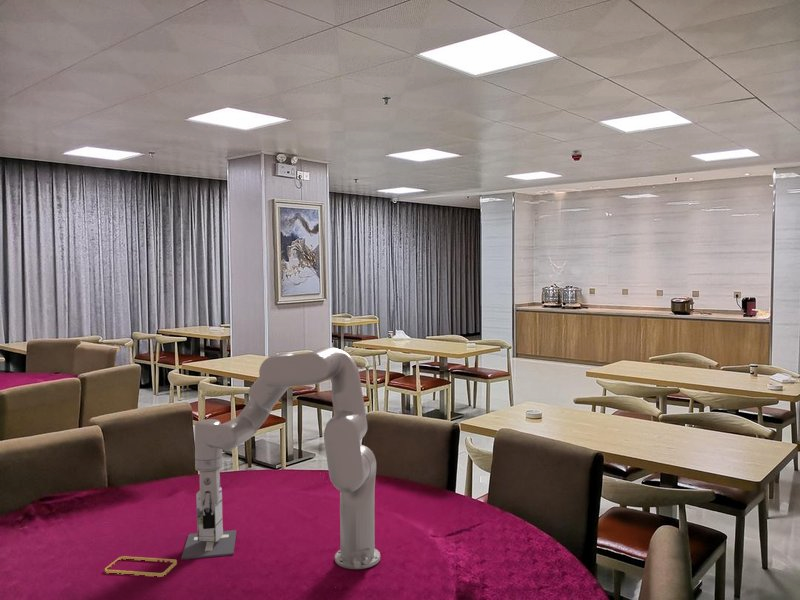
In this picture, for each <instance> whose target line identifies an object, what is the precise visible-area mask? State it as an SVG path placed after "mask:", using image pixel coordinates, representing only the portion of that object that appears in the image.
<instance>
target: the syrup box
mask: <svg viewBox="0 0 800 600" xmlns="http://www.w3.org/2000/svg"><path fill="white" fill-rule="evenodd" d="M219 491H220V492H219V493H220V500H219V503H218V504H217V505H216V504H214V513H213V514H215V527H214V528H211V529H203V506H202V505H201V499H200V489H199V490H198V491H197V492H196V495H195V496H196V499H195V500H196V527H197V528H196V530H197V532H196V533H197V535H198V542H217V541H218V540H219V539H220V537H221V536H222V535H223V531H224V528H223V526H224V525H223V524H224V523H223V522H224V521H223V492H222V491H223V489H222V487H220V488H219ZM210 496H211V494H210ZM210 503H212V501H210ZM210 508H211V506H210Z"/></svg>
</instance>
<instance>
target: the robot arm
mask: <svg viewBox="0 0 800 600" xmlns="http://www.w3.org/2000/svg"><path fill="white" fill-rule="evenodd" d="M258 374H259V376H258V377H257V378H256V380H255V381H254V383H253V384H252V385H251V386H250V387H249V389H248V397H249V399H248V402H247V403H246V405H245V406H244V407H243V409H242V410H241V411H240V413H239V414H237V416H236V417H235V418H232V419H231V420H228V421H226V422H223V423H221V421H220V420H218V419H214V418H212V419H211V418H208V419H202V420H201V419H200V420H199V421H196V423H195V424H194V459H195V461H194V463H195V464H194V465H195V466H194V467H195V471H197V472H199V490H200V499H201V505H202V506H203V529H211V528H214V527H215V514H213V513H214V504H216V505H217V504H218V503H219V500H220V493H219V492H220V491H219V488H221V476H220V475H221V473H220V470H221V469H222V468H223V451H231V450H234V449H235V448H238V447H239V446H241V445H242V444H244V443H245V442H246V441H248V440H250V439H251V438H253V436H254V435H255V434H256V433H257V431H258V430H259V429H260V428H261V427H262V425H263V424H264V423H266V421H267V419H268V418H269V416H270V413H271V412H272V411H273V408H274V406H276V405H277V403H278V402H279V400H280V399H282V397H283V395H284V394H285V393H286V392H287V391H288V389H290V388H292V387H293V388H294V387H303V386H312V385H318V384H320V383H323V382H325V381H326V380H330V382H331V389H330V390H331V392H330V393H331V402H332V406H333V407H332V408H333V410H332V411H333V416H332V417H331V418H330V419H329V420H328V422H327V423H326V424H325V427H324V430H323V431H324V432H323V442H324V450H325V455H326V463H327V469H328V476H329V479H330V482H331V483H332V485H333V486H334V488H335V489H337V490H338V491H340V492H339V519H340V520H339V521H340V522H339V523H340V524H339V525H340V526H339V527H340V528H339V529H340V530H339V533H340V535H339V537H340V539H339V543H340V544H339V545H340V547H339V550H338V551H337V552H335V554H334V562H335V563H336V564H337V566H340V567H341V568H344V569H348V570H364V569H368V568H371V567H374V566H376V565H377V564H379V562H380V561H381V552H380V551H379V550H378V549H377V548H375V547H376V544H375V536H376V535H375V532H376V531H375V528H376V527H375V497H376V496H375V495H376V494H375V489H376V488H375V486H376V476H377V475H376V474H377V460H376V456H375V454H374V452H373V450H371V448H369V447H368V446H366V445H363V444H361V441H362V440H363V438H364V437H365V435H366V434H367V432H368V420H367V414H366V408H365V407H366V406H365V399H364V395H363V388H362V381H361V375H360V371H359V368H358V366H357V364H356V361H355V360H354V358H352V356H351V355H350V354H349V353H347V352H346V351H344V350H342V349H341V348H340V349H339V348H337V347H332V346H326V347H320V348H318V349H316V350H313V351H310V352H306V353H299V354H294V353H292V352H288V351H286V352H285V351H284V352H279V353H277V354H274V355H270V356H269V357H267V358H265V359H264V360H263V362H262V363H261V365H260V367H259V369H258ZM210 494H211V496H210ZM210 501H212V503H210ZM210 506H211V508H210Z"/></svg>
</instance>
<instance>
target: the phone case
mask: <svg viewBox="0 0 800 600" xmlns="http://www.w3.org/2000/svg"><path fill="white" fill-rule="evenodd" d="M121 559H123V560H126V559H134V560H133V561H141V560H145V561H144V562H157V561H158V560H159V561H158V562H161V563H162V562H163V561H164V563H168V562H169V563H172V564H170V565H169V566H168V568H166V569H165V570H164V571H163V572H149V571H134V570H120V569H109V568H110V567H111V568H112V565H115V564H116V562H117V561H118V560H120V561H122V560H121ZM118 562H119V561H118ZM177 564H178V560H177V559H171V558H157V557H144V556H143V557H142V556H141V557H139V556H127V555H125V556H123V555H122V556H119V557H118V558H116V559H115V560H114V561H113V562H111V563H110V564H109V565H107V566H106V567H105V568H104V573H105V572H106V573H105V574H109V573H117V574H116V575H124V574H134V575H133V576H139V575H145V576H144V577H154V576H157V578H160V577H161V578H162V577H165V576H166V575H167V574H168V573H169V572H171V570H172V569H173V568H174V567H175V566H177ZM119 573H121V574H119ZM164 575H165V576H164Z"/></svg>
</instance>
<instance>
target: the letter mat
mask: <svg viewBox="0 0 800 600" xmlns="http://www.w3.org/2000/svg"><path fill="white" fill-rule="evenodd" d="M236 538H237V529H234V530H233V529H232V530H223V535H222V536H221V537H220V539H219V540H218V541H217V542H198V535H197V532H196V533H189V534H188V535H187V539H186V542H185V545H184V547H183V552H182V555H181V557H180V558H181V559H180V560H191V559H200V558H201V559H202V558H213V557H222V556H223V557H224V556H233V555H234V552H235V546H236Z"/></svg>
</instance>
